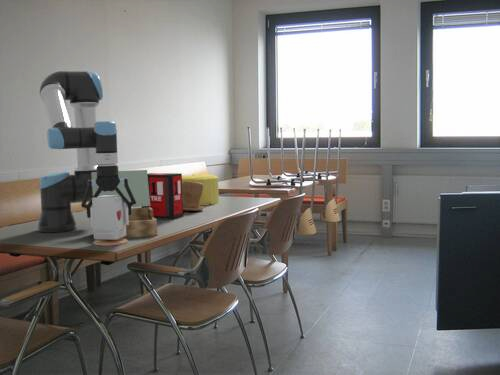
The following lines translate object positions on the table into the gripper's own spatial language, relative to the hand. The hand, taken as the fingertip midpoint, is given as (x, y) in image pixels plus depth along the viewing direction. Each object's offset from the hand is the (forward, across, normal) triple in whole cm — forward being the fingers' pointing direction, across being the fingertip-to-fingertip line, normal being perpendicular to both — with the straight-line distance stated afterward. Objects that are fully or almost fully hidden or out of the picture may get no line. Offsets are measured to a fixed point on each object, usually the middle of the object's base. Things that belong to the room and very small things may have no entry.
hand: (109, 225), depth 210 cm
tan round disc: (+6, 0, 0) cm, 6 cm away
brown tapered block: (+7, +44, +68) cm, 82 cm away
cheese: (+7, +54, +98) cm, 112 cm away
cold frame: (+6, +7, +14) cm, 17 cm away
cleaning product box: (+7, +28, +52) cm, 60 cm away
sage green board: (-11, +7, +25) cm, 28 cm away
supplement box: (+5, 0, 0) cm, 5 cm away
